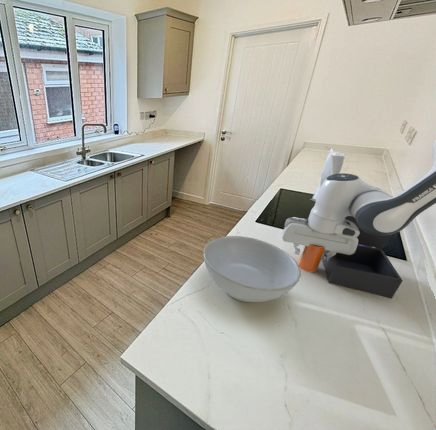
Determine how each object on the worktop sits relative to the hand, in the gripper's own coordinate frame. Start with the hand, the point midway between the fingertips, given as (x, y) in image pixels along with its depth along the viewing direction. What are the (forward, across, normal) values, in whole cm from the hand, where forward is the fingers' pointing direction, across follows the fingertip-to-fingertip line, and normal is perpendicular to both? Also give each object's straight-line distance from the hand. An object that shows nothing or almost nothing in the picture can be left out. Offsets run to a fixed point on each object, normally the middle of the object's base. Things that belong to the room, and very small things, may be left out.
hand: (310, 256), depth 92 cm
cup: (+5, 0, 0) cm, 5 cm away
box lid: (-12, +13, +11) cm, 21 cm away
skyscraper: (+5, +13, +72) cm, 73 cm away
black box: (+5, +13, +2) cm, 14 cm away
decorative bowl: (+6, -20, -21) cm, 29 cm away
